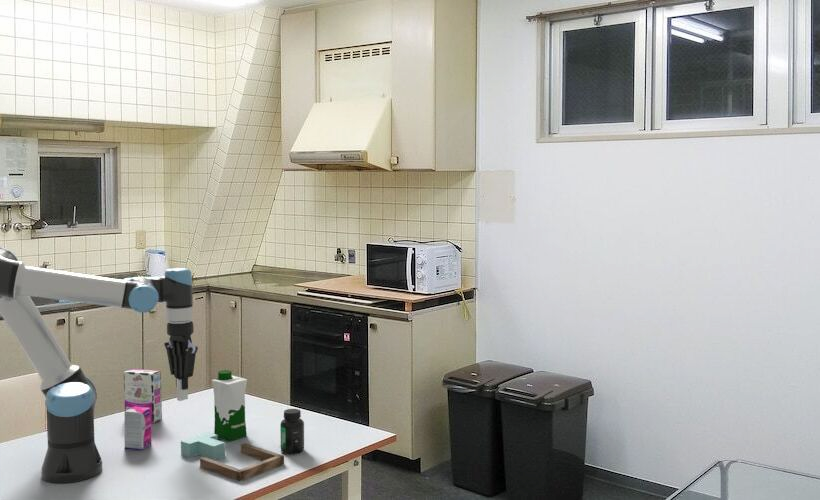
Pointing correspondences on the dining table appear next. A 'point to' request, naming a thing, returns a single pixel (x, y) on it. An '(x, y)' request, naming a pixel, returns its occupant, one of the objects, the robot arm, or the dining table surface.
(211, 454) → the tee
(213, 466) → the wooden u-shaped frame
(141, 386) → the candy bar box
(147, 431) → the supplement box
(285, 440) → the supplement bottle
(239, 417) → the milk carton
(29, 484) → the dining table surface
